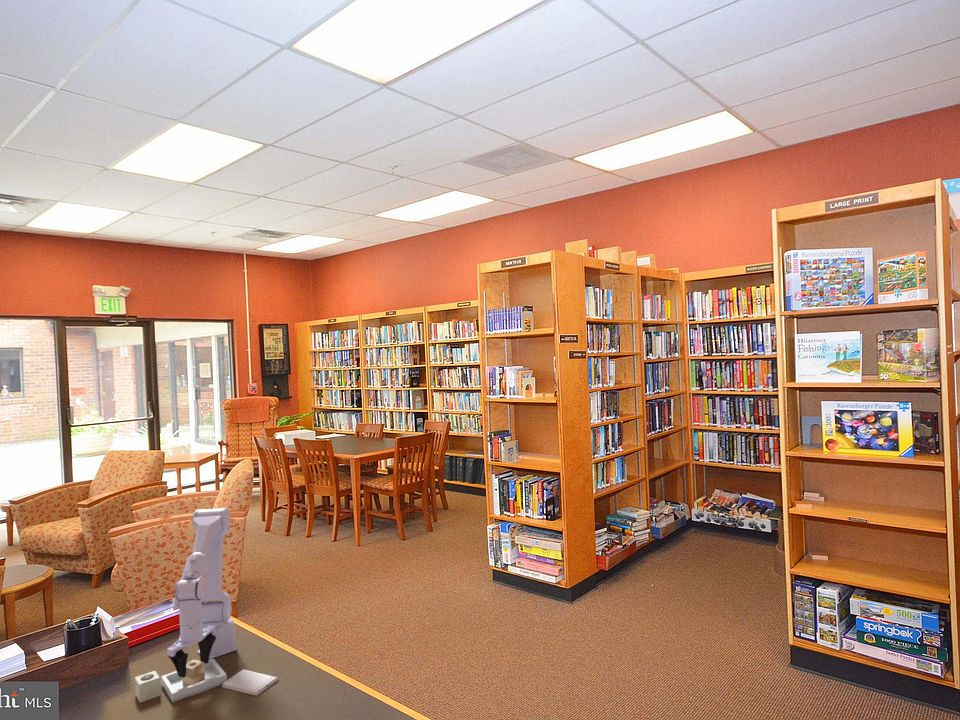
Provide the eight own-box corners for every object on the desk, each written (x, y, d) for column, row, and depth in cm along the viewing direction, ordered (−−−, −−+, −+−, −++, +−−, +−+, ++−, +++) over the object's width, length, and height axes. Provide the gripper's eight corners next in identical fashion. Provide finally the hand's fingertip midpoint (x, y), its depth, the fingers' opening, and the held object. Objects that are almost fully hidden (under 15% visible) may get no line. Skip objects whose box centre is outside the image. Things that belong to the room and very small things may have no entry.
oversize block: (156, 688, 170) (155, 670, 170) (160, 695, 166) (159, 677, 166) (135, 695, 167) (134, 677, 167) (139, 703, 163) (138, 684, 163)
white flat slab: (221, 683, 169) (256, 691, 164) (243, 668, 177) (277, 676, 172) (222, 689, 169) (256, 697, 164) (244, 674, 177) (278, 681, 172)
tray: (213, 666, 180) (213, 658, 180) (226, 682, 171) (226, 674, 171) (161, 685, 171) (161, 676, 171) (172, 703, 162) (172, 693, 162)
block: (194, 676, 174) (193, 659, 174) (204, 679, 172) (203, 661, 172) (182, 684, 170) (181, 666, 170) (192, 686, 169) (192, 668, 168)
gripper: (201, 608, 179) (204, 654, 179) (158, 630, 166) (160, 680, 166) (219, 612, 176) (222, 658, 177) (176, 635, 163) (179, 685, 163)
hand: (193, 669), depth 171 cm, fingers open, 7 cm apart
